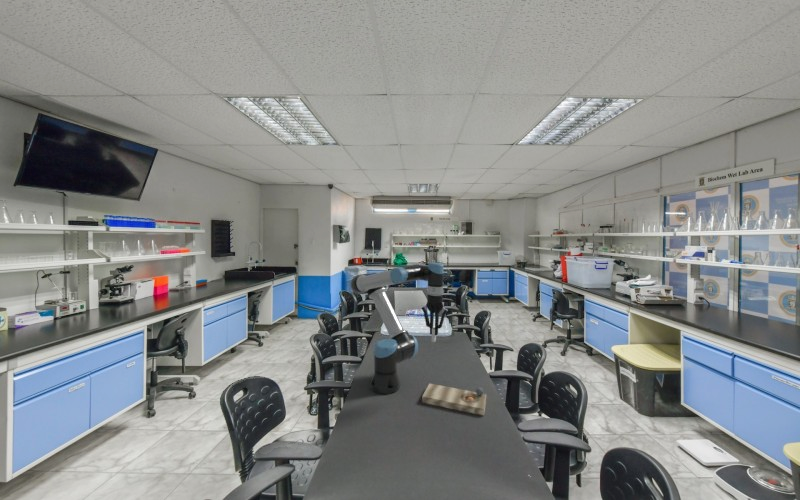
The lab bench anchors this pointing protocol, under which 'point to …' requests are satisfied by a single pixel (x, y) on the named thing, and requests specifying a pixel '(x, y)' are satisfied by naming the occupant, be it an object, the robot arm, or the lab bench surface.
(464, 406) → the board
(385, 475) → the lab bench surface
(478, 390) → the grey ball
